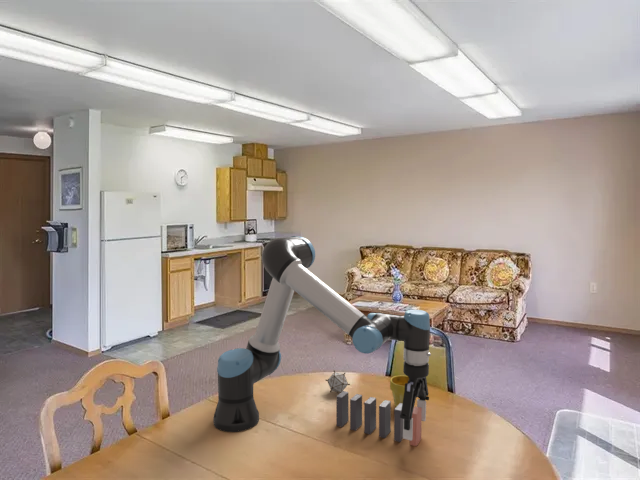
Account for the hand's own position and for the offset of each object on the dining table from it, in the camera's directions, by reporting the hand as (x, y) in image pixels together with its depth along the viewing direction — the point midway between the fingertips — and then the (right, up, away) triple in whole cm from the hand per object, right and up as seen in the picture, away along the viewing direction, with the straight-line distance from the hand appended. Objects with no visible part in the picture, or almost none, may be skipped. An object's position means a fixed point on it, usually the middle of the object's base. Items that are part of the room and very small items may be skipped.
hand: (414, 429), depth 140 cm
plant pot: (+1, -2, +25) cm, 25 cm away
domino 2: (-17, -3, +10) cm, 20 cm away
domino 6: (0, -4, 0) cm, 4 cm away
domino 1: (-21, -3, +12) cm, 25 cm away
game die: (-22, -2, +38) cm, 44 cm away
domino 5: (-4, -4, +3) cm, 6 cm away
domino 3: (-13, -3, +7) cm, 15 cm away
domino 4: (-8, -4, +5) cm, 10 cm away
